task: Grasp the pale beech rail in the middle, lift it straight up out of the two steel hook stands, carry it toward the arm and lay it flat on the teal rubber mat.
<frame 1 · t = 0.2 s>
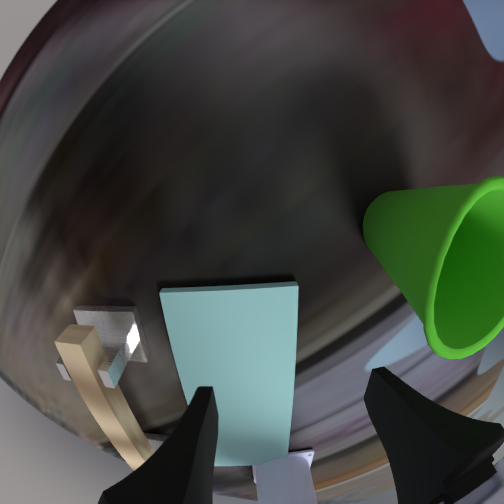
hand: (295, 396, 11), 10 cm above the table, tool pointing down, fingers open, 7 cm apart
rail: (130, 428, 19), point 4 cm above the table, touching hook stand 2, hook stand 1
cup: (388, 224, 19), on the table
hook stand 2: (162, 444, 26), on the table
mat: (240, 403, 24), on the table
hook stand 1: (113, 330, 21), on the table
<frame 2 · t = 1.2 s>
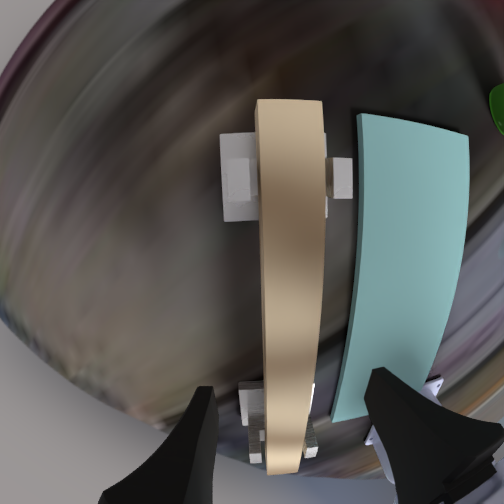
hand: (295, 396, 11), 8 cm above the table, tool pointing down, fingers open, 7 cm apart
rail: (284, 345, 14), point 4 cm above the table, touching hook stand 2, hook stand 1
cup: (500, 112, 14), on the table
hook stand 2: (275, 398, 21), on the table
mat: (406, 297, 19), on the table
hook stand 1: (273, 175, 16), on the table
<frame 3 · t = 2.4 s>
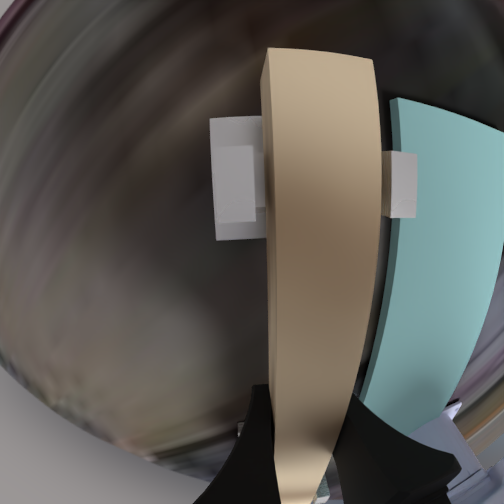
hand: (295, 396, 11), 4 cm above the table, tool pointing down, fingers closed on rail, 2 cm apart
rail: (296, 402, 10), point 4 cm above the table, touching gripper, hook stand 2, hook stand 1
hook stand 2: (280, 437, 17), on the table
mat: (436, 323, 14), on the table
hook stand 1: (284, 175, 11), on the table
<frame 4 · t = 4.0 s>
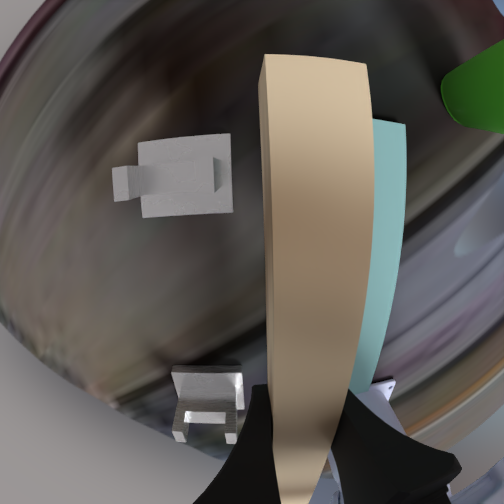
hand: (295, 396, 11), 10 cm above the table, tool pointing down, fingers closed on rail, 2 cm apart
rail: (295, 398, 11), point 10 cm above the table, touching gripper
cup: (457, 99, 16), on the table
hook stand 2: (210, 385, 22), on the table
mat: (335, 292, 20), on the table
hook stand 1: (186, 175, 17), on the table
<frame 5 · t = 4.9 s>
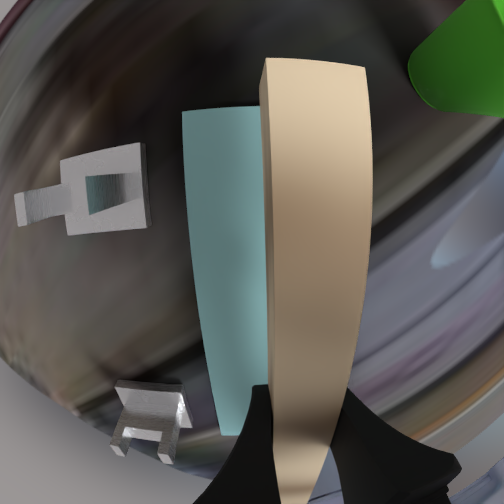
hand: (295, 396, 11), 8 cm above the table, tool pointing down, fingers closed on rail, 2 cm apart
rail: (294, 396, 11), point 8 cm above the table, touching gripper
cup: (431, 80, 14), on the table
hook stand 2: (156, 401, 20), on the table
mat: (276, 313, 18), on the table
hook stand 1: (105, 190, 15), on the table
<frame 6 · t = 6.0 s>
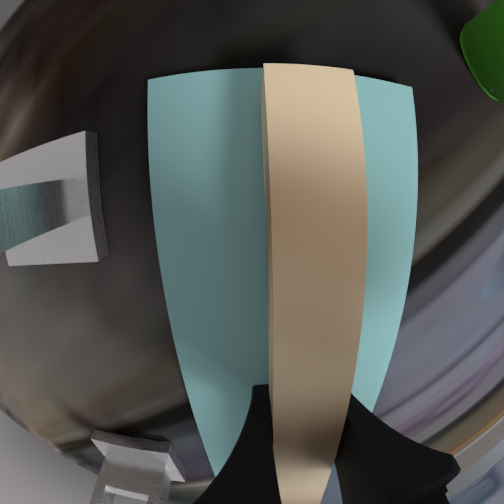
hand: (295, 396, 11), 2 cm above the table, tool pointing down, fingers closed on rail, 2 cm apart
rail: (297, 410, 10), point 2 cm above the table, tilted 8°, touching arm, gripper, mat
cup: (484, 63, 8), on the table
hook stand 2: (141, 453, 15), on the table
mat: (290, 373, 12), on the table
hook stand 1: (48, 203, 9), on the table
when the fingers open (2 cm above the table, at t = 6.2 s): rail drops 2 cm, resting on mat.
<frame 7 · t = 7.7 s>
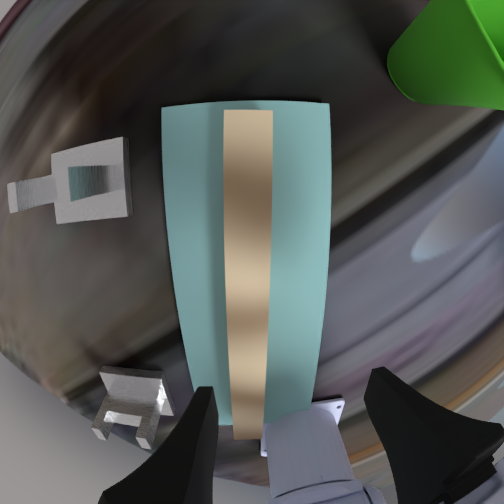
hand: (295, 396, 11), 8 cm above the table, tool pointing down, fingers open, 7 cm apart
rail: (246, 309, 18), point 1 cm above the table, touching mat
cup: (412, 74, 14), on the table
hook stand 2: (139, 388, 21), on the table
mat: (251, 302, 19), on the table
hook stand 1: (92, 181, 16), on the table
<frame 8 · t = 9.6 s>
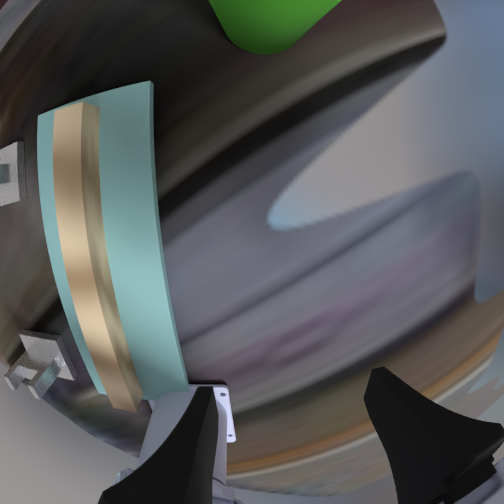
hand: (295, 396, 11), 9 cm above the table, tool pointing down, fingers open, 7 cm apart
rail: (97, 275, 18), point 1 cm above the table, touching mat
cup: (262, 28, 14), on the table
hook stand 2: (49, 352, 21), on the table
mat: (105, 270, 18), on the table
hook stand 1: (6, 177, 15), on the table
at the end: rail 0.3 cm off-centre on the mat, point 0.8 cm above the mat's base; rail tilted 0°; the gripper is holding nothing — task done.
